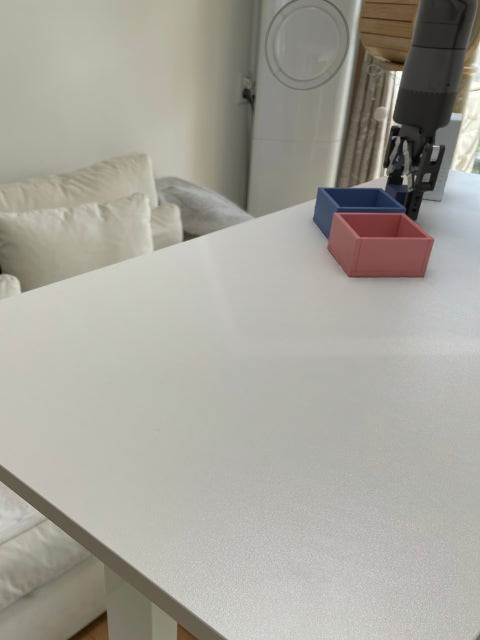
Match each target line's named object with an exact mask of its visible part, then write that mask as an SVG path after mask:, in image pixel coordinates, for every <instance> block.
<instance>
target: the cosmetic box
mask: <svg viewBox="0 0 480 640" xmlns="http://www.w3.org/2000/svg"><path fill="white" fill-rule="evenodd" d="M463 118H464V116H463V113H461V112H460V113H458V112H452V115H451V119H450V123H449V124H448V125H447V126H446V127H443V128H439V129H438V130H437V131H436V137H435V144H436V145H445V152H444V156H443V159H442V163H441V166H440V170H439V173H438V177H437V181H436V184H435V188H434V190H433V191H427V192H424V194H423V198H422V200H429V201H437V202H441V201H442V199H443V196H444V192H445V188H446V184H447V180H448V177H449V173H450V170H451V165H452V161H453V158H454V154H455V150H456V147H457V143H458V139H459V135H460V132H461V127H462V123H463ZM430 175H431V173H430V174H429V175H428V182H429V179H430Z"/></svg>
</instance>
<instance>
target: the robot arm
mask: <svg viewBox="0 0 480 640" xmlns="http://www.w3.org/2000/svg"><path fill="white" fill-rule="evenodd" d="M478 6H479V0H418V6H417V7H418V8H417V12H416V17H415V22H414V27H413V31H412V36H411V39H410V45H409V48H408V52H407V55H406V57H405V60H404V64H403V66H402V67H403V68H402V72H401V77H400V82H399V85H398V90H397V94H396V100H395V104H394V108H393V115H392V121H393V122H394V123H395V124H396V125H391V127H390V129H389V134H388V139H387V145H386V149H385V154H384V159H383V163H382V167H383V169H386V173H385V175H386V176H387V178H386V183H385V188H384V191H386V188H387V185H404V184H403V183H404V176H406V177H407V185H408V191H407V192H406V196H405V200H404V205H403V206H404V207H405V208H406V213H405V214H406V215H407V216H408V217H409V218H410V219H415V218H417V219H418V216H419V213H420V209H421V205H422V201H423V199H422V198H423V194H424V192H427V191H433V190H434V188H435V184H436V181H437V177H438V173H439V170H440V166H441V163H442V159H443V156H444V152H445V145H436V144H435V137H436V131H437V130H438V129H439V128H443V127H446V126H447V125H448V124H449V123H450V119H451V115H452V113H454V112H453V111H454V107H455V104H456V100H457V96H458V92H459V88H460V85H461V82H462V77H463V75H464V69H465V64H466V56H467V52H468V51H467V50H468V46H469V43H470V38H471V36H472V31H473V28H474V23H475V20H476V16H477V12H478V8H479V7H478ZM430 173H431V175H430V179H429V182H428V175H429V174H430Z"/></svg>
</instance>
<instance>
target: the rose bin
mask: <svg viewBox="0 0 480 640" xmlns="http://www.w3.org/2000/svg"><path fill="white" fill-rule="evenodd" d="M434 243H435V238H433V236H432V235H430V234H429V233H428V232H427V231H425V230H424V229H423V227H421V226H420V225H418V224H417V223H416V222H415V220H411V219H410V218H409V217H408V216H407V215H406V214H404V213H334V214H333V219H332V225H331V230H330V236H329V240H328V241H327V247H326V248H327V250H328V251H329V252H330V253H331V254H332V256H333V257H334V259H335V260H336V262H338V264H339V265H340V267H341V268H342V270H344V272H345V273H346V275H347V276H348V277H350V278H351V277H353V278H355V277H357V278H359V277H361V278H362V277H363V278H364V277H365V278H366V277H367V278H368V277H371V278H373V277H374V278H376V277H377V278H383V277H384V278H386V277H387V278H389V277H390V278H393V277H394V278H395V277H396V278H397V277H398V278H399V277H400V278H413V277H414V278H424V277H425V275H426V271H427V268H428V264H429V261H430V258H431V253H432V250H433V247H434Z"/></svg>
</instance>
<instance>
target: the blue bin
mask: <svg viewBox="0 0 480 640" xmlns="http://www.w3.org/2000/svg"><path fill="white" fill-rule="evenodd" d="M334 213H404V214H405V213H406V208H405V207H404V206H402V205H401V204H400V203H399V202H398V201H396V200H395V199H394V198H393V197H392V196H390V195H389V194H388V193H387V192H386V191H385V189H384V188H382V187H335V186H334V187H332V186H331V187H330V186H329V187H327V186H323V187H321V186H319V187H317V192H316V198H315V204H314V210H313V218H312V220H313V222H314V223H315V224H316V226H317V228H319V229H320V231H321V232H322V233H323V235H324V236H325V237H326V239H327V240H328V241H329V236H330V230H331V225H332V219H333V214H334Z"/></svg>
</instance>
